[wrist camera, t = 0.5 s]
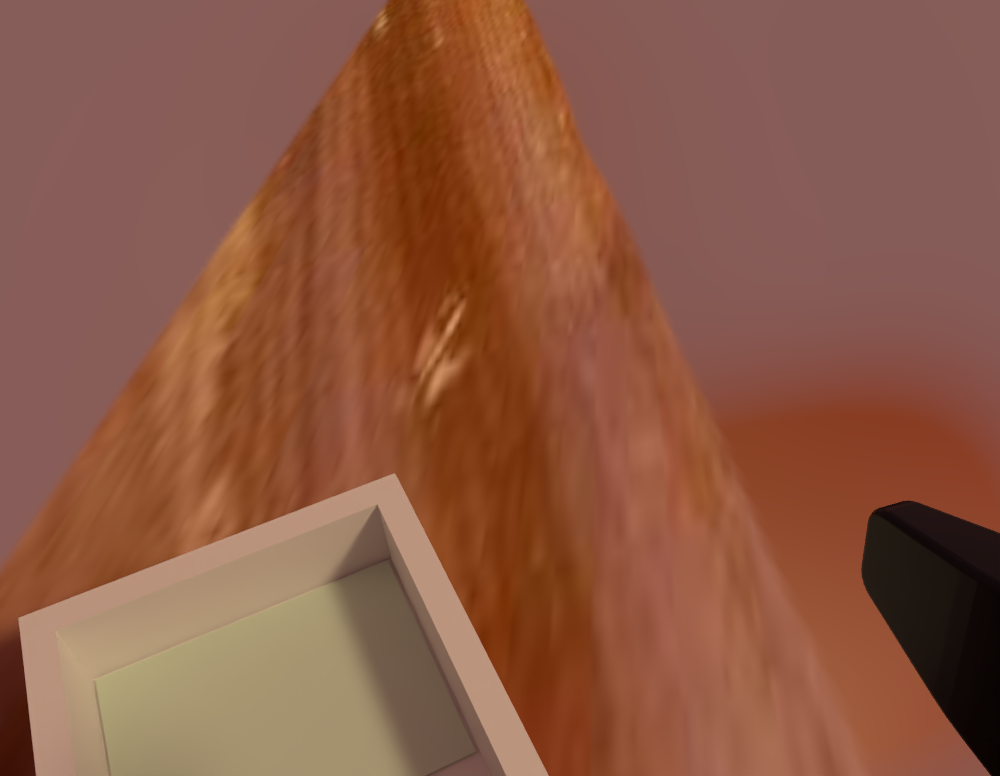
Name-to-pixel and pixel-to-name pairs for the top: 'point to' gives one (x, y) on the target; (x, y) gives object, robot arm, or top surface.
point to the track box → (276, 659)
